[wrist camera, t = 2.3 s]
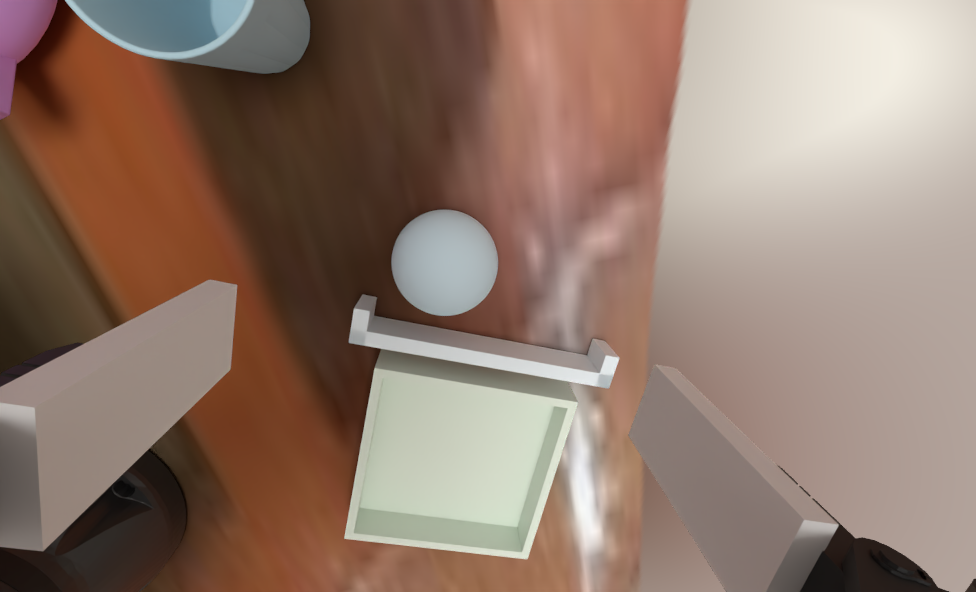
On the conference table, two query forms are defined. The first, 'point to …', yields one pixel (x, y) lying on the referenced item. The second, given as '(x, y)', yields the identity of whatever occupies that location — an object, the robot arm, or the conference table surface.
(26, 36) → the teapot
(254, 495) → the conference table surface
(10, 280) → the conference table surface
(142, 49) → the cup
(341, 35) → the conference table surface
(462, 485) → the tray
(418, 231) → the ball
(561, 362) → the white bar handle
